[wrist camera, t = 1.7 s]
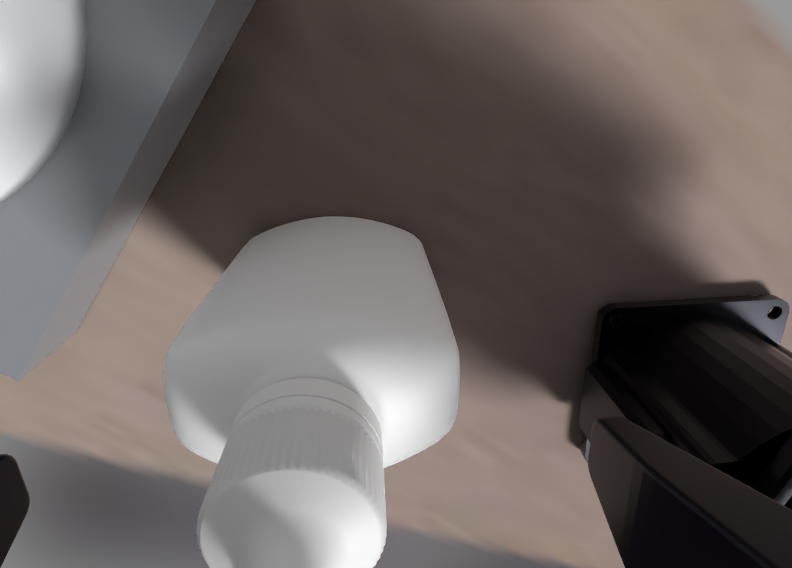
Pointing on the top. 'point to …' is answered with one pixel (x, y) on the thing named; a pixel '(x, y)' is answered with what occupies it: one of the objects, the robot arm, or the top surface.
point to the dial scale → (88, 144)
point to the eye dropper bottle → (311, 390)
